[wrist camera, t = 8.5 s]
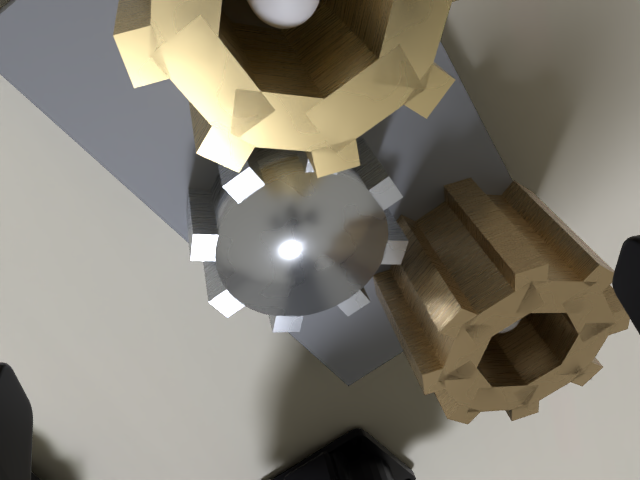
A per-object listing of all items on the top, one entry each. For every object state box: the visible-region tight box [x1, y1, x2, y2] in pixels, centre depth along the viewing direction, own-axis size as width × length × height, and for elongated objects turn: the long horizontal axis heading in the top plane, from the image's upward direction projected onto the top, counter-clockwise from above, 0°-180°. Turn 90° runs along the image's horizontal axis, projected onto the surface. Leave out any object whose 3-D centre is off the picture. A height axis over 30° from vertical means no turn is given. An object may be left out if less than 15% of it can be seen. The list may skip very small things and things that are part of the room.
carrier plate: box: [0, 0, 521, 386], centre depth 18 cm, size 18×10×5 cm, turn 33°
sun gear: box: [186, 139, 409, 332], centre depth 18 cm, size 6×6×2 cm
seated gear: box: [373, 177, 630, 424], centre depth 20 cm, size 7×7×5 cm
